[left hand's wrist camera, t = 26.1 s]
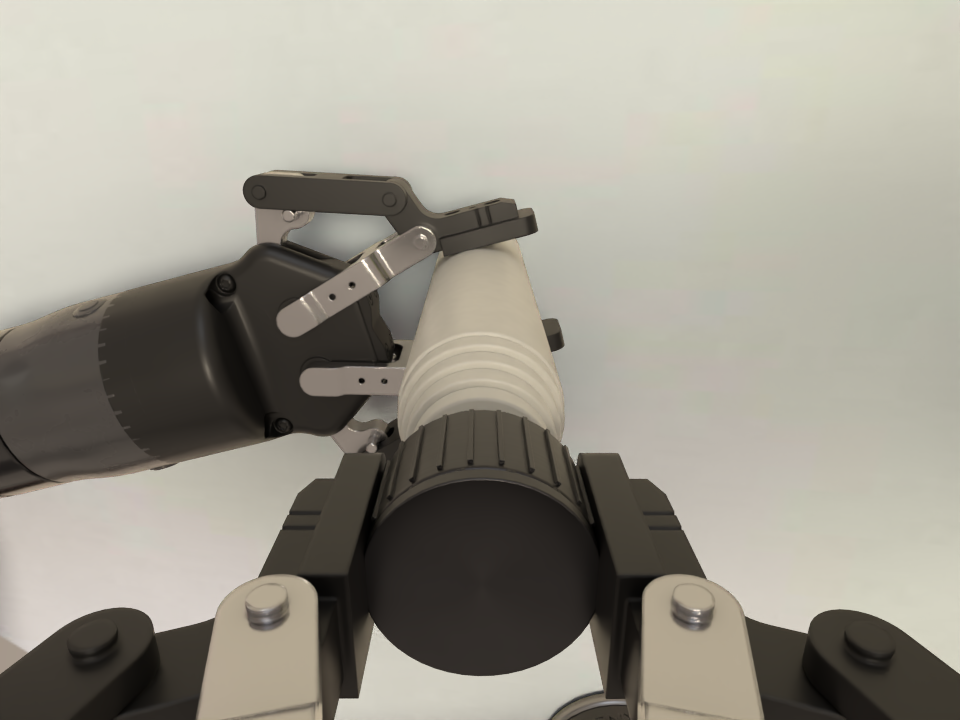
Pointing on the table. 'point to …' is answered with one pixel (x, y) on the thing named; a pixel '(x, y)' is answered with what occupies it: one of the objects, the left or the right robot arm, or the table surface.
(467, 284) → the bottle
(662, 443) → the table surface
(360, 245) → the table surface
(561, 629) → the cap
